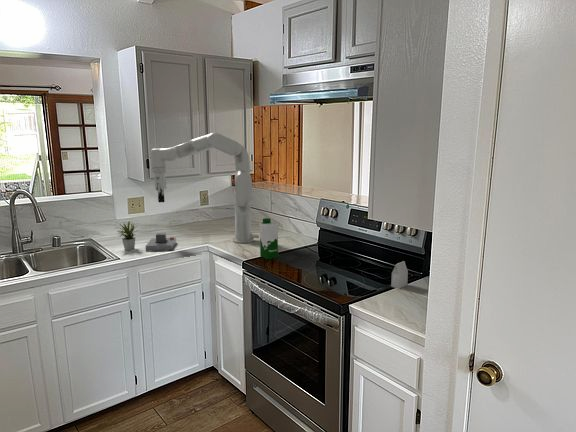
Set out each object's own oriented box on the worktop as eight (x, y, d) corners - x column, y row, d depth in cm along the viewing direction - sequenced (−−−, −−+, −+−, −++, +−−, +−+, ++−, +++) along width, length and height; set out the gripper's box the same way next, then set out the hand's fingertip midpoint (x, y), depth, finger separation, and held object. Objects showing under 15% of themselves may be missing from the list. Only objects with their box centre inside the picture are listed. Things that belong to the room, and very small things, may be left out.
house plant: (115, 246, 247) (113, 219, 244) (140, 244, 252) (139, 217, 249) (115, 253, 234) (112, 223, 231) (141, 250, 239) (139, 221, 236)
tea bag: (407, 284, 182) (408, 261, 180) (399, 288, 177) (400, 265, 175) (399, 282, 184) (400, 260, 182) (391, 286, 179) (392, 263, 178)
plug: (166, 245, 249) (165, 233, 248) (165, 247, 245) (164, 234, 244) (157, 246, 249) (157, 233, 247) (156, 247, 245) (155, 234, 244)
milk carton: (271, 253, 231) (271, 217, 227) (281, 257, 223) (280, 219, 220) (257, 256, 226) (257, 219, 222) (267, 260, 218) (266, 221, 215)
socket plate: (176, 242, 257) (175, 236, 256) (171, 250, 239) (171, 243, 238) (152, 243, 255) (151, 237, 254) (145, 251, 238) (145, 244, 237)
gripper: (163, 171, 238) (166, 203, 241) (167, 169, 252) (170, 200, 256) (149, 171, 237) (152, 204, 240) (154, 169, 251) (157, 200, 255)
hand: (161, 202), depth 248 cm, fingers closed
